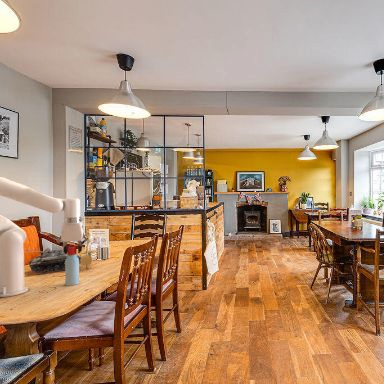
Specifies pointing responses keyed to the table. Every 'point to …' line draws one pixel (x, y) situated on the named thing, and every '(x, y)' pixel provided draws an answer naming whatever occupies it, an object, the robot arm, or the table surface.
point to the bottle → (72, 270)
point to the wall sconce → (87, 254)
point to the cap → (71, 250)
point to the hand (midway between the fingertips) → (72, 252)
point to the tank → (49, 261)
